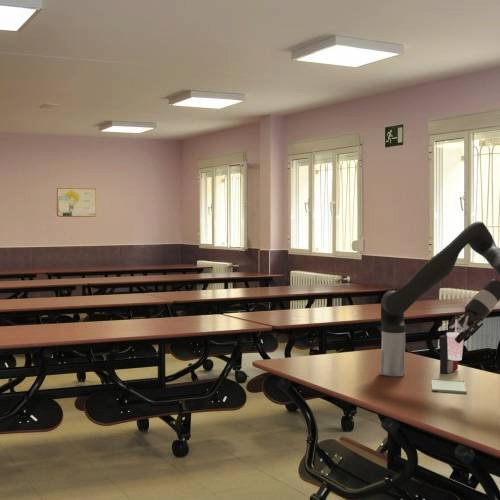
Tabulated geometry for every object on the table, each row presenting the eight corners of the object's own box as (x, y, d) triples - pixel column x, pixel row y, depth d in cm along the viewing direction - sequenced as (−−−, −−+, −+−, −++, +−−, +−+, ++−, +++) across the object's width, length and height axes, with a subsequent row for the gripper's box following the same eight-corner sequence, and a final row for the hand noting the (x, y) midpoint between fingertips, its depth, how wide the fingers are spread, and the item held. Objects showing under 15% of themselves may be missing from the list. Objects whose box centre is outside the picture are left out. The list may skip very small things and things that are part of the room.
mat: (432, 391, 262) (432, 389, 262) (431, 380, 280) (431, 378, 280) (466, 393, 260) (466, 391, 260) (463, 382, 277) (463, 380, 277)
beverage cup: (463, 361, 250) (465, 321, 249) (445, 360, 252) (446, 319, 251) (464, 358, 255) (465, 318, 255) (446, 356, 257) (447, 317, 257)
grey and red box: (448, 374, 291) (449, 337, 290) (438, 373, 294) (439, 336, 293) (458, 370, 300) (459, 334, 299) (448, 368, 303) (449, 333, 302)
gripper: (500, 315, 250) (469, 351, 247) (474, 310, 264) (445, 343, 260) (487, 300, 248) (456, 336, 245) (462, 295, 262) (433, 329, 259)
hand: (451, 339), depth 253 cm, fingers closed on beverage cup, 6 cm apart
